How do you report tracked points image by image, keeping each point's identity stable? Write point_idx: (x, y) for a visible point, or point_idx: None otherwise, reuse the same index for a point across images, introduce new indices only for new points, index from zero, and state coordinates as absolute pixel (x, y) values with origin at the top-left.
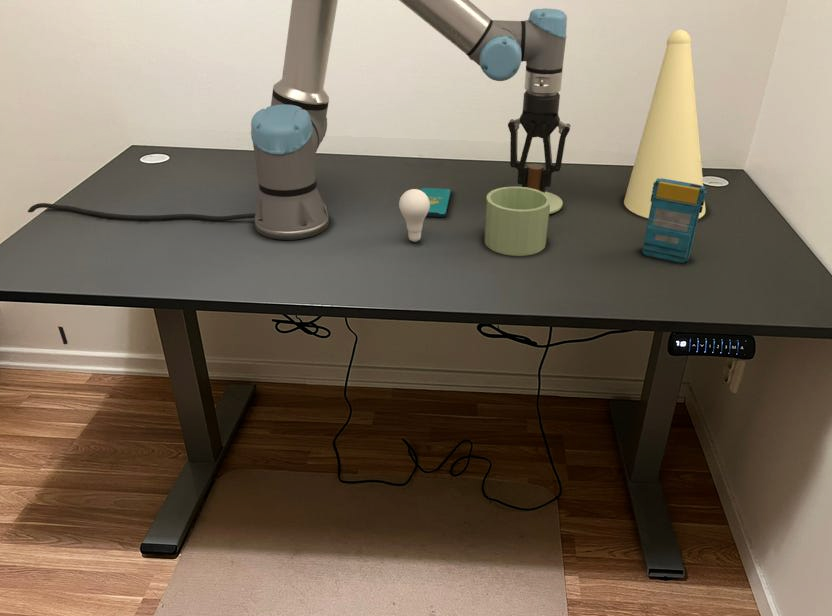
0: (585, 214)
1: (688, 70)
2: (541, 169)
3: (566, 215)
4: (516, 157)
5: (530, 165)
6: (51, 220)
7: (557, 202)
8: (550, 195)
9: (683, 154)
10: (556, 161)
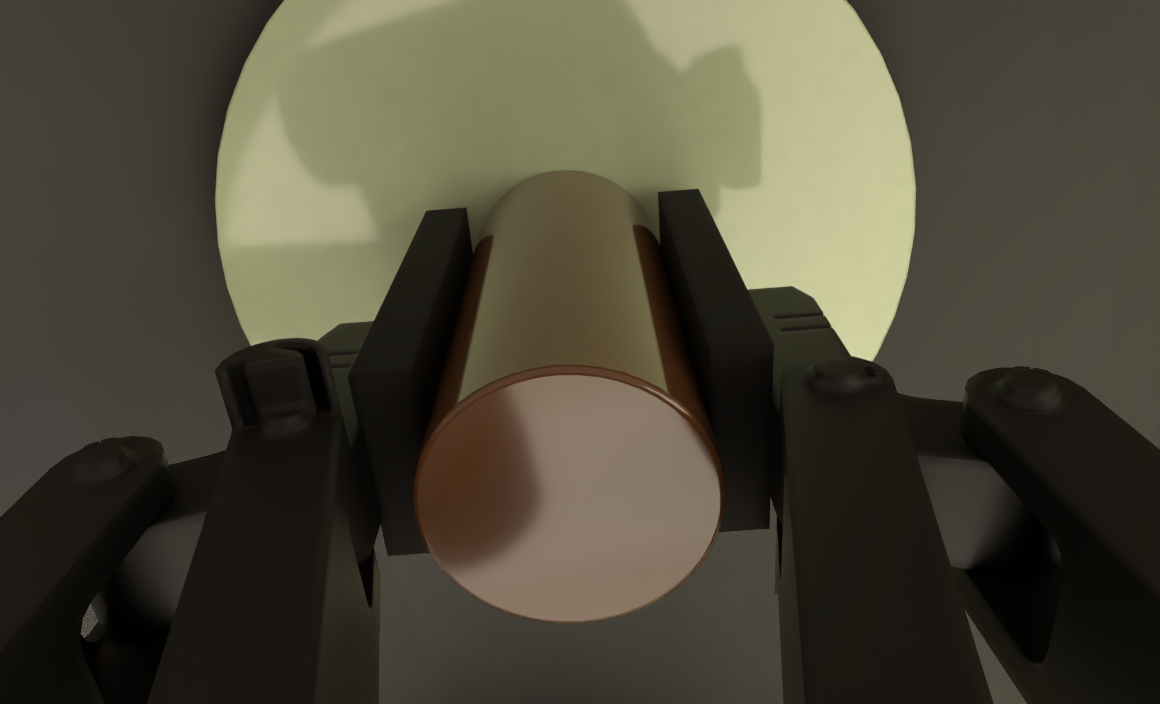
0: (1137, 270)
1: None
2: (695, 564)
3: (938, 353)
4: (110, 564)
5: (465, 500)
6: None
7: (855, 215)
8: (756, 20)
9: None
10: (1032, 691)
